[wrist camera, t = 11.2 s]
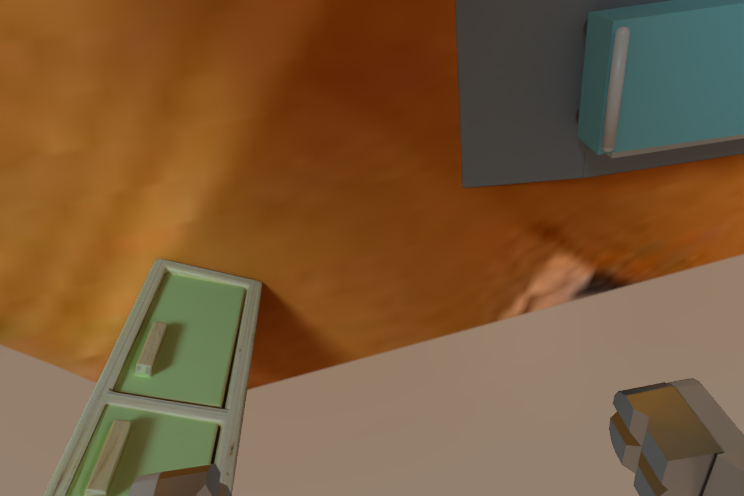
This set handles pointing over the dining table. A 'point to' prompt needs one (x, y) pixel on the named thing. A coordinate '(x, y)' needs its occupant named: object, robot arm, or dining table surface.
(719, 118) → the teal handled box
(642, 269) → the dining table surface
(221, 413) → the toy refrigerator
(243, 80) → the dining table surface
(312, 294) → the dining table surface
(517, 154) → the loading dock
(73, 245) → the dining table surface
